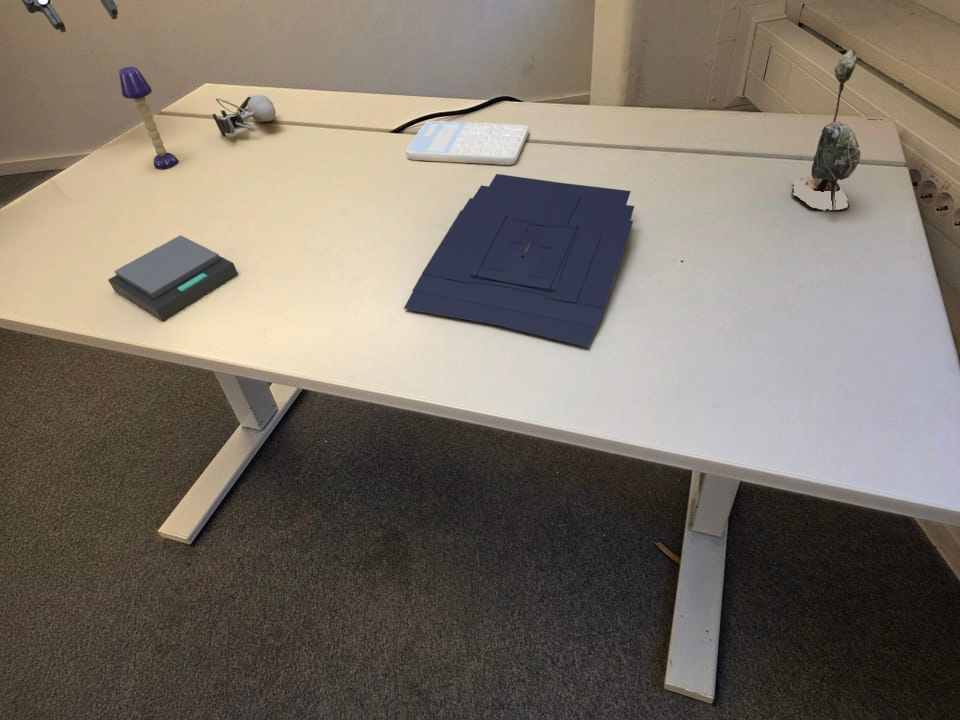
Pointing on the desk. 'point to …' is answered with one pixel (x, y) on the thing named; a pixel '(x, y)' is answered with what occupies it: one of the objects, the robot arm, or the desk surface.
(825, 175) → the grey stone sculpture
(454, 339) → the desk surface
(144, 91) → the toy lamp
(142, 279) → the scale
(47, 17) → the robot arm
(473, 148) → the calculator
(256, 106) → the clip-on lamp
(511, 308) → the navy flat block
